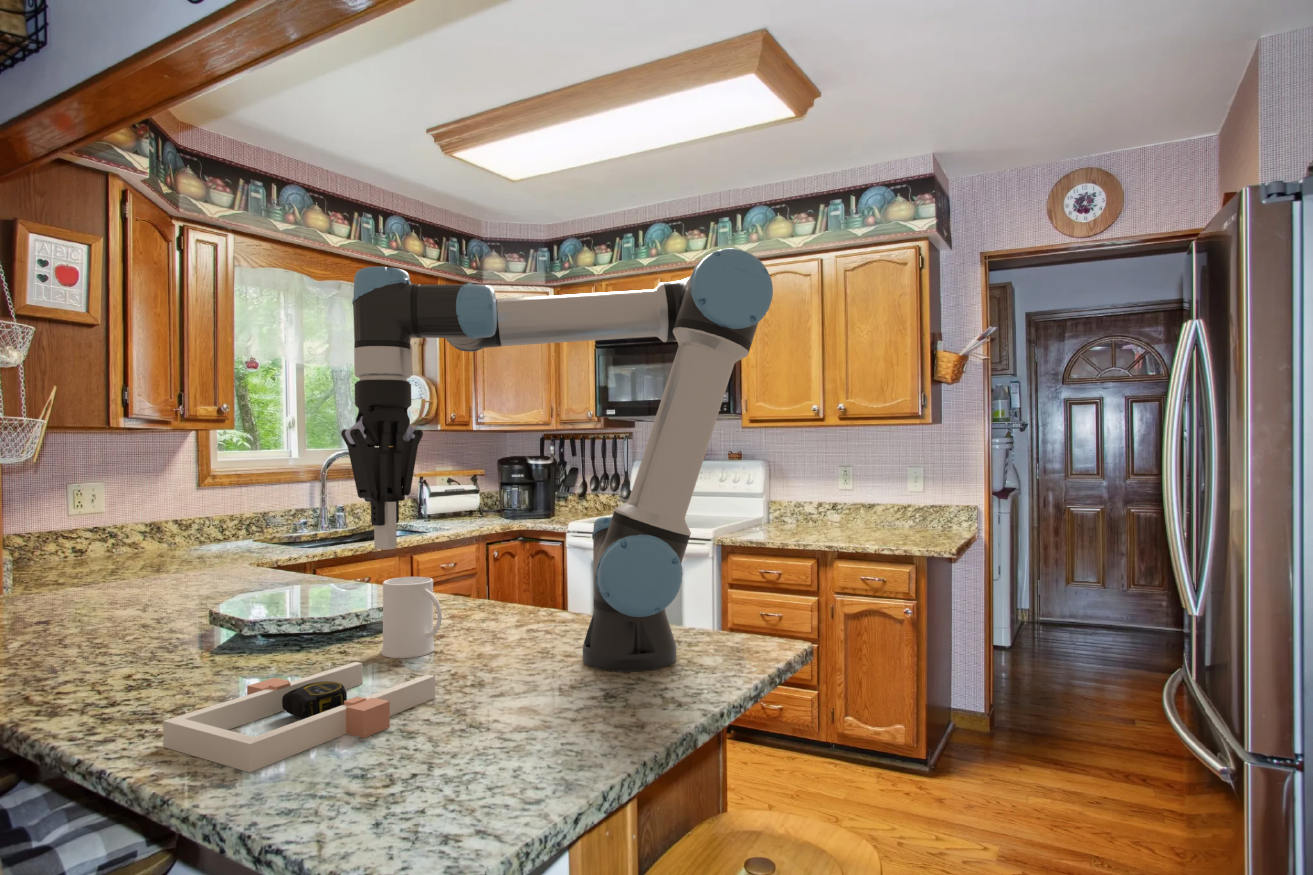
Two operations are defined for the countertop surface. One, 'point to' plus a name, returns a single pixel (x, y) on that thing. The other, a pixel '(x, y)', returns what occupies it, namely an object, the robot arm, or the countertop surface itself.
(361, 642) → the countertop surface
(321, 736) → the slotted beam
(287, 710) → the tape measure
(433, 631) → the mug
